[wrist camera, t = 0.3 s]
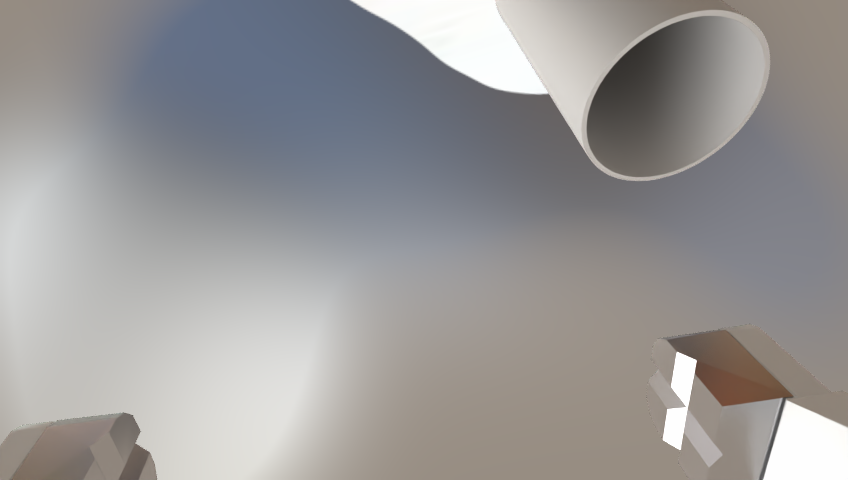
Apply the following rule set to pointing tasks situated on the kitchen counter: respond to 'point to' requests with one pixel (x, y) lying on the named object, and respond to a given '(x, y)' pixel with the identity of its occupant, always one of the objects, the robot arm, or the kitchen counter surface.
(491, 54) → the kitchen counter surface
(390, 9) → the kitchen counter surface
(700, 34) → the cylinder vase
